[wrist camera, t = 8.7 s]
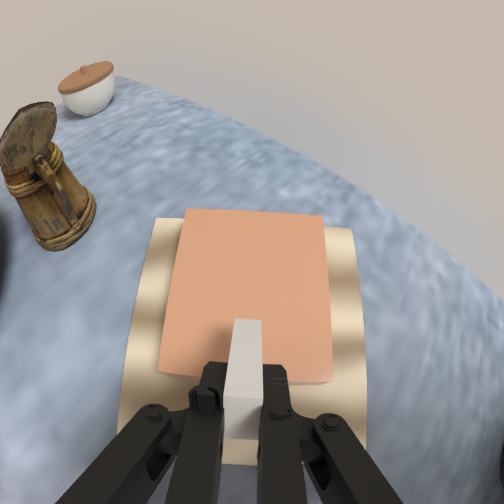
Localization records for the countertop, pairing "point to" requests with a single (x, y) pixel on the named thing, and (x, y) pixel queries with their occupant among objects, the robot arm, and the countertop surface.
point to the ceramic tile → (249, 293)
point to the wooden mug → (44, 178)
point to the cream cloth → (302, 396)
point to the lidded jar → (89, 88)
